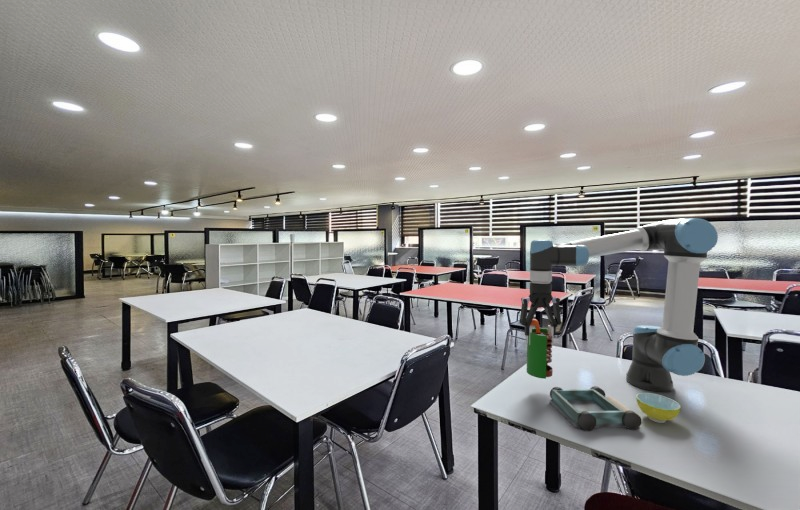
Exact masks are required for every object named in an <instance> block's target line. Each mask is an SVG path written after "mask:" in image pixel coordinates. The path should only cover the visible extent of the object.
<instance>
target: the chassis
mask: <svg viewBox="0 0 800 510" xmlns="http://www.w3.org/2000/svg"><path fill="white" fill-rule="evenodd" d="M549 397H550V400H549V403H550V404H551V405H552V406H553V407H554V409H556V410H557V411H558V412H559V413H560V414H561V415H562V416H563V417H564V418H565V419H566V420H567V421H568V423H569V424H571V425H572V426H573V427H574V428H575V429H582V430H584V431H587V432H588V431H589V432H590V431H592V430H593V429H595V428H596V429H599V428H627V429H629V430H632V431H634V430H637V429H639V428H640V426H641V425H642V418H641V416H640V415H639V414H638V413H636V412H635V411H633V410H631V409H629V408H628V407H627V406H625V405H624V404H622V403H621V402H620V401H618V400H617V399H615V398H614V397H613V396H606V392H605V390H604V389H602V388H600V387H599V386H597V385H593V386H591V387H590V388H578V389H577V388H570V389H569V388H568V389H565V388H562V387H559V386H554V387H552V388H551V389H550V391H549Z"/></svg>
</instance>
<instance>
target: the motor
mask: <svg viewBox="0 0 800 510" xmlns="http://www.w3.org/2000/svg"><path fill="white" fill-rule="evenodd" d="M539 323H540V322H539V321H538V319H536V318H533V320H532V322H531V325H530V327H532V326H533V327H532V333H530V345H529V336H528V343H527V342H526V345H527V346H526V373H527V374H528V375H529V376H531V377H534V378H538V379H544V380H546V379H547V378H550V377H552V376H553V373H554V372H553V369H554V368H553V366H552V365H549V364H550V363H552V361H553V359H552V357H553V354H552V353H553V349H552V348H553V345H551V344H552V341H549V340H550V339H552V336H551V337H550V336H549V334H548V328H543V327H540V324H539Z"/></svg>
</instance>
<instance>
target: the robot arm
mask: <svg viewBox="0 0 800 510" xmlns="http://www.w3.org/2000/svg"><path fill="white" fill-rule="evenodd" d="M718 238H719V235H718V231H717V229H716V227H715V226H714V225H713V224H712V223H711V222H710V221H708V220H706V219H704V218H697V217H696V218H695V217H685V218H674V219H666V220H662V221H660V220H659V221H658V222H654V223H650V224H645V225H643V226H642V225H641V226H636V227H635V229H634V230H629V231H623V232H618V233H612V234H606V235H602V236H595V237H589V238H584V239H578V240H573V241H568V242H563V243H553V242H554V241H552V240H551V239H533V240H532V241H531V242H530V246H529V247H530V248H529V265H530V266H529V281H530V282H529V295H528V297H521V299H520V300H521V309H520V315H519V316H520V317H519V324H520V325H522V327H523V326H524V335H526V344H527V343H528V336H529V345H530V333H532V328H533V327H532V326H530V325H531V322H532V320H533V319H534V318H535V315H536V311H538V309H539V308H543V309H544V311H545V314H546V316H547V319H548V322H549V324H548V325H547V329H548V334H549V336H550V337H551V336H552V339H550V340H549V341H552V344H551V345H552V346H553V345H554V336H556V332H557V331H556V329H557V327H558V326H560V325H562V317H561V309H560V302H561V298H560V297H557V296H553V295H552V292H553V291H552V290H553V284H552V282H553V267H562V266H563V267H579V266H580V267H583V266H586V265H587V264H588V262H589V259H590V258H595V257H600V256H601V257H602V256H607V255H612V254H613V255H614V254H620V253H625V252H631V251H638V250H639V251H640V252H646V251H663V257H664V258H665V259H666V260H667V263H668V265H667V275H666V285H665V295H664V305H663V315H662V323H661V324H662V325H661V326H657V325H636V326H634V328H633V332H632V358H631V359H632V360H631V364H629V365H630V366H629V368H628V371H627V372H626V374H625V375H626V376H625V380H626V381H627V382H628V383H629V384H631V385H632V386H635V387H637V388H640V389H643V390H646V391H652V392H659V393H667V392H668V393H669V392H672V391H673V389H674V381H673V379H672V375H671V373H673V374H674V375H677V376H682V377H683V376H684V377H687V376H692V375H694V374H695V373H697V372H699V371H701V370H702V369H703V367H704V364H705V361H706V356H705V353H704V352H703V351H702V349H701V348H700V347H699V346H698V344H699V336H697V334H696V333H695V332H694V328H695V327H694V326H695V317H696V309H697V307H696V306H697V300H698V298H697V297H698V288H699V277H700V270H701V269H700V267H701V264H702V262H704V261H705V260H706V259H708V252H710V251H712V249H713V248H715V247H716V245H717V243H718V241H719V240H718ZM551 302H552V308H553V312H552V308H551V305H550V304H551ZM529 303H531V304H530V307H529ZM528 307H529V310H528ZM527 312H528V313H527Z"/></svg>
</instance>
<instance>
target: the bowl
mask: <svg viewBox="0 0 800 510" xmlns="http://www.w3.org/2000/svg"><path fill="white" fill-rule="evenodd" d="M635 397H636V404H637V406H638V408H639V409H640V411H642V413H644V414H645V415H646V416H647V418H648V420H650V421H653V422H655V423H657V424H665V423H666V421H671V420H673V419H675V418H676V417H678V415H679V414H680V413H681V412H680V411H681V404H680V403H679V402H677V401H676V400H674V399H672V398H670V397H667V396H664V395H661V394H658V393H654V392H653V393H652V392H640V393H637V394H636V396H635Z"/></svg>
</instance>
